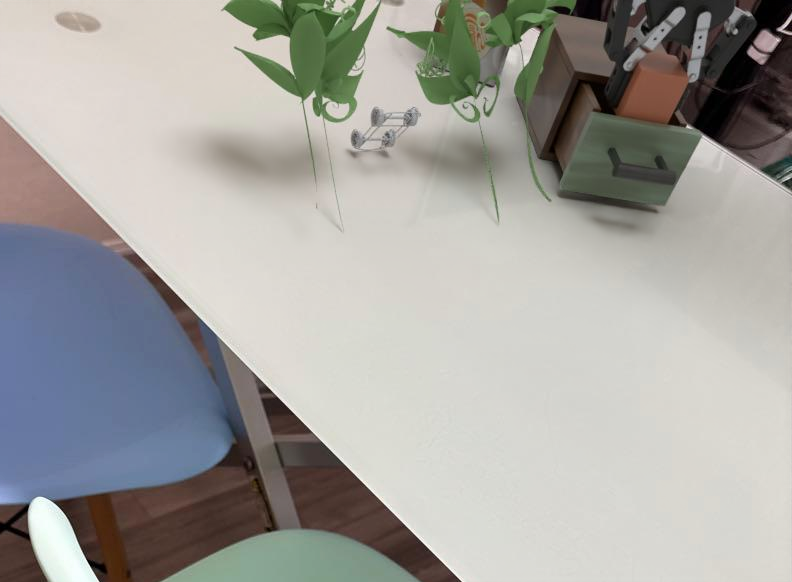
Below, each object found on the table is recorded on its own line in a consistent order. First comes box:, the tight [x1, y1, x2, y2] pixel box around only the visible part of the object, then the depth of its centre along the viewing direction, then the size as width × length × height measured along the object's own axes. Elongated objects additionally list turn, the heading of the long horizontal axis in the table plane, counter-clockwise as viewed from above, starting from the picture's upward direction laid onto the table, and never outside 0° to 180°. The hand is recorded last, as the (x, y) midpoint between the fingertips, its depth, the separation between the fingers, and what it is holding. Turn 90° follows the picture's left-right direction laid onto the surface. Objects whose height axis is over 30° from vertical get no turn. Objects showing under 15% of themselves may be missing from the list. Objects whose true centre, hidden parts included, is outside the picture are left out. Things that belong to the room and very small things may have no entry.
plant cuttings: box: [220, 0, 577, 231], centre depth 93 cm, size 35×17×22 cm
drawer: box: [552, 79, 703, 207], centre depth 102 cm, size 18×11×8 cm, turn 0°
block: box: [613, 52, 690, 124], centre depth 97 cm, size 5×5×5 cm
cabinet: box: [515, 13, 691, 163], centre depth 108 cm, size 15×13×10 cm
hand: (637, 108), depth 98 cm, fingers closed on block, 5 cm apart
